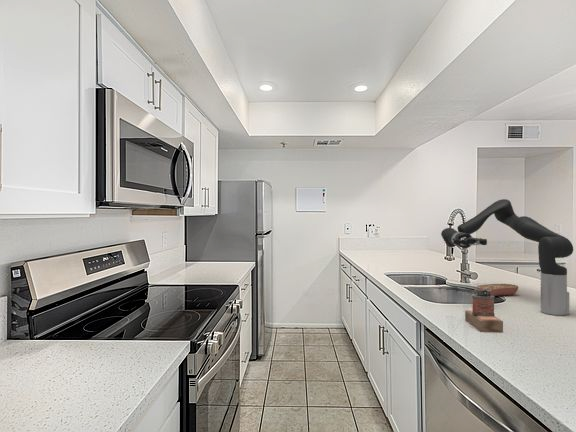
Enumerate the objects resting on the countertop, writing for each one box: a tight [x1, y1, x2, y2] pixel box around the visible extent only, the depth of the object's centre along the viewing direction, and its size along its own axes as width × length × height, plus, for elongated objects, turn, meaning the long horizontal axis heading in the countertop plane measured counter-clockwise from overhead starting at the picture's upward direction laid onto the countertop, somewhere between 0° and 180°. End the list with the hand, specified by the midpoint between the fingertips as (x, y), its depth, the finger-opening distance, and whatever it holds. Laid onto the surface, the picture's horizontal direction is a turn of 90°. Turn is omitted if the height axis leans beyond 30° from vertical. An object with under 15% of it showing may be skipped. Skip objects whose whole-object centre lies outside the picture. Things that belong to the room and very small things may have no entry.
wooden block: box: [464, 309, 504, 333], centre depth 139 cm, size 8×14×4 cm, turn 175°
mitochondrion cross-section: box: [476, 283, 519, 297], centre depth 187 cm, size 23×10×5 cm, turn 105°
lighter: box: [471, 289, 496, 317], centre depth 138 cm, size 8×3×10 cm, turn 83°
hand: (475, 242), depth 163 cm, fingers open, 8 cm apart
